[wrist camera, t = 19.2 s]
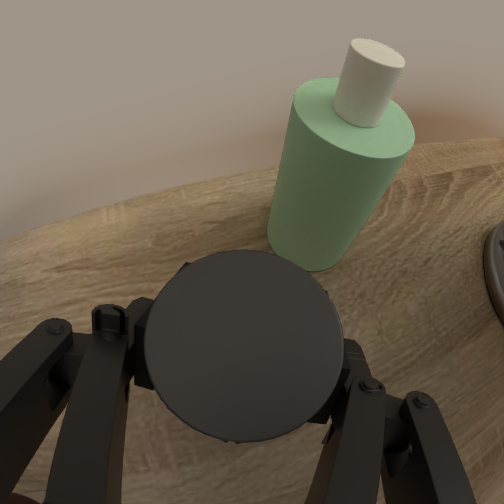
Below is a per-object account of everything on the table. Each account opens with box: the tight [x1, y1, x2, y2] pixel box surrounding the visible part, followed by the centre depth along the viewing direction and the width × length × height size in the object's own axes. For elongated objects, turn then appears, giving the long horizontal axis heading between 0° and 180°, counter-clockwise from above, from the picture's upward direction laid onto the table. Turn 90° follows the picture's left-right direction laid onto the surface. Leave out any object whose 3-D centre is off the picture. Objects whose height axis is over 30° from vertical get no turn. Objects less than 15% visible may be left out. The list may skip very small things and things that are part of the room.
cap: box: [144, 250, 344, 444], centre depth 12 cm, size 5×5×9 cm
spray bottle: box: [267, 39, 415, 271], centre depth 20 cm, size 7×7×17 cm
